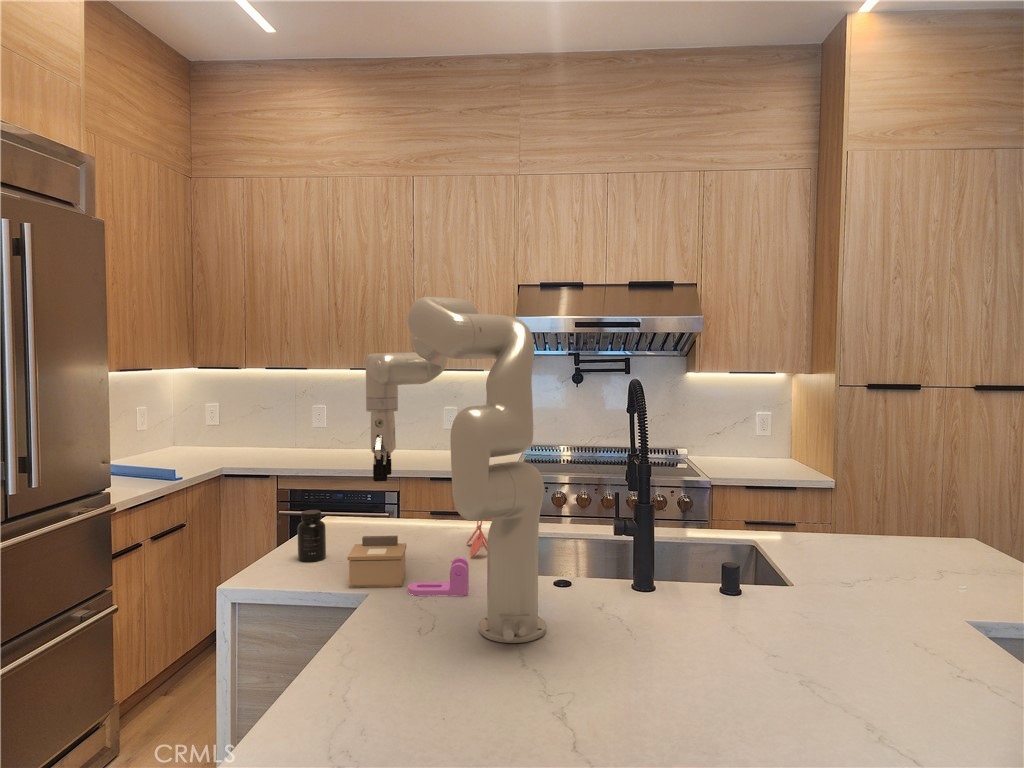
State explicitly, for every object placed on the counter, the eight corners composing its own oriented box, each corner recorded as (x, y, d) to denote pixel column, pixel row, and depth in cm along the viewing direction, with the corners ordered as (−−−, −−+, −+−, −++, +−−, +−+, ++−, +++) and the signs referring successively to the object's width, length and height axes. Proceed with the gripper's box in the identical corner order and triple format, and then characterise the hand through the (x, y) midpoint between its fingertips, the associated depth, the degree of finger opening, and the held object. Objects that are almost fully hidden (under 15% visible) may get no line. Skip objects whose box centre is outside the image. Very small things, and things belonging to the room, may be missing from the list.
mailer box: (401, 586, 152) (401, 560, 152) (349, 588, 152) (349, 561, 151) (405, 573, 162) (405, 548, 162) (356, 574, 161) (356, 549, 161)
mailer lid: (402, 559, 152) (402, 546, 152) (347, 560, 151) (347, 547, 151) (406, 546, 162) (406, 534, 162) (355, 547, 161) (354, 535, 161)
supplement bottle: (297, 556, 176) (297, 509, 175) (325, 553, 178) (324, 507, 177) (297, 563, 169) (297, 515, 169) (326, 561, 171) (325, 513, 171)
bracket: (468, 587, 152) (468, 556, 152) (467, 596, 147) (467, 564, 147) (409, 588, 152) (409, 557, 152) (406, 596, 147) (406, 564, 146)
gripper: (393, 407, 156) (394, 484, 157) (401, 402, 173) (401, 471, 174) (360, 407, 156) (361, 485, 156) (371, 402, 173) (372, 471, 174)
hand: (382, 477), depth 165 cm, fingers open, 7 cm apart
